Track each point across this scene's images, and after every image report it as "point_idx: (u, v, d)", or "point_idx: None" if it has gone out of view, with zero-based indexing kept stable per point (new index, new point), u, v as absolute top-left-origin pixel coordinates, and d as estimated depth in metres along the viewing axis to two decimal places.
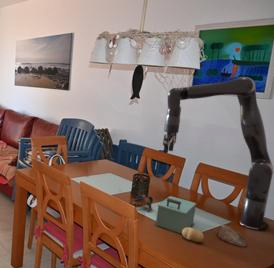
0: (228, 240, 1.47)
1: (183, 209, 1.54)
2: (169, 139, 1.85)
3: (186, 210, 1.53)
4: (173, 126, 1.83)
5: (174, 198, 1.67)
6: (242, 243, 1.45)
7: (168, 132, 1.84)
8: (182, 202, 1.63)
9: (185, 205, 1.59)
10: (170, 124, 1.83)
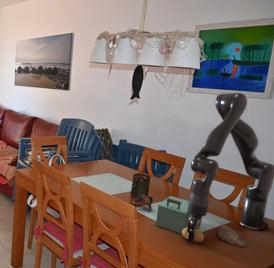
0: (228, 240, 1.47)
1: (183, 209, 1.54)
2: (194, 223, 1.43)
3: (186, 210, 1.53)
4: (200, 208, 1.41)
5: (174, 198, 1.67)
6: (242, 243, 1.45)
7: (193, 215, 1.42)
8: (182, 202, 1.63)
9: (185, 205, 1.59)
10: (196, 205, 1.41)
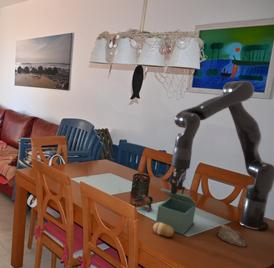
0: (228, 240, 1.47)
1: None
2: (178, 177, 1.47)
3: (189, 197, 1.53)
4: (183, 161, 1.44)
5: None
6: (242, 243, 1.45)
7: (177, 168, 1.46)
8: (183, 198, 1.63)
9: (187, 198, 1.59)
10: (179, 158, 1.45)
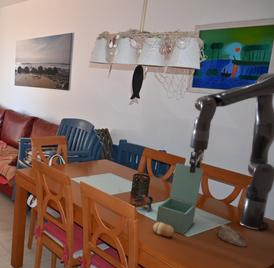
0: (228, 240, 1.47)
1: None
2: (196, 157, 1.58)
3: None
4: (202, 142, 1.56)
5: None
6: (242, 243, 1.45)
7: (195, 149, 1.58)
8: None
9: None
10: (198, 139, 1.57)
